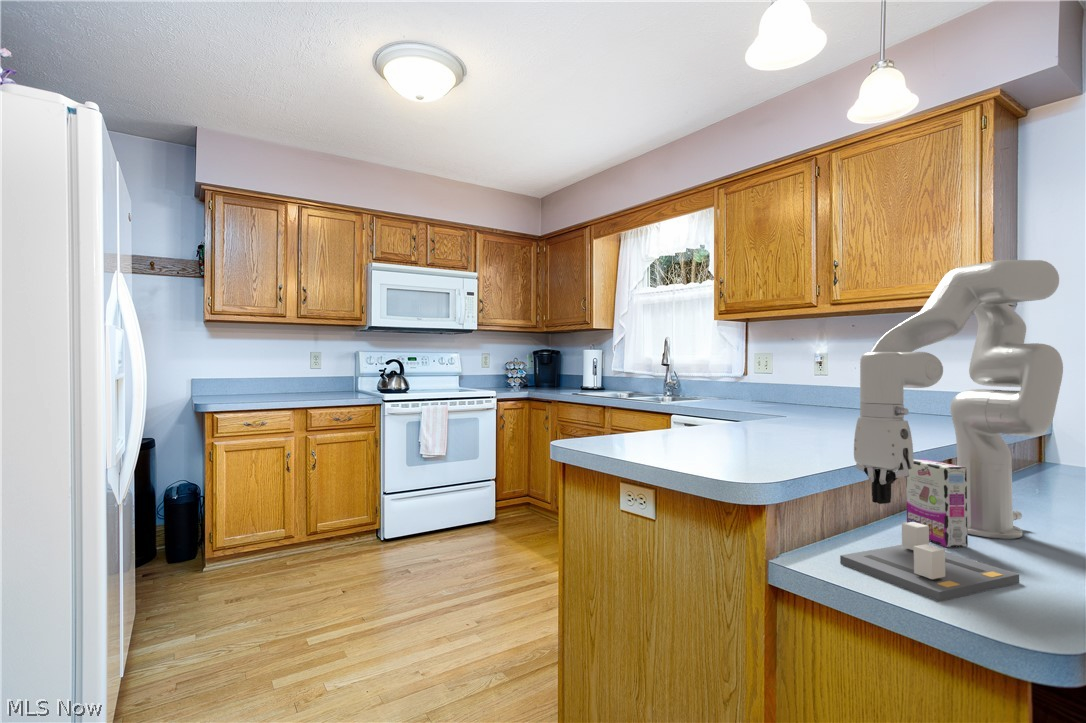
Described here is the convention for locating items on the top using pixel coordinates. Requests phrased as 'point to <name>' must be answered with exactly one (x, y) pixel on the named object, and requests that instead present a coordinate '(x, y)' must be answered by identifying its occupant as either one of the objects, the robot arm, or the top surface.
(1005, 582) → the panel
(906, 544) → the block
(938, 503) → the candy bar box
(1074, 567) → the top surface
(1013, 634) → the top surface
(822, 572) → the top surface
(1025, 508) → the top surface
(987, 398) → the robot arm
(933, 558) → the block
